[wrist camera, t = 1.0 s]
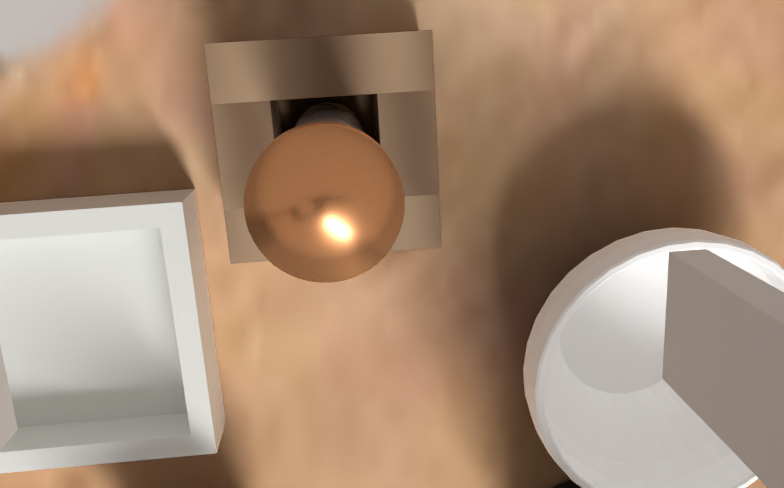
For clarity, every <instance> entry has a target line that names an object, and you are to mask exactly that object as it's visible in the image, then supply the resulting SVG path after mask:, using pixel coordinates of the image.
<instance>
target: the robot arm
mask: <svg viewBox="0 0 784 488" xmlns="http://www.w3.org/2000/svg"><path fill="white" fill-rule="evenodd" d="M662 379H663V380H664V381H665V382H666V383H667V384H668V385H669V386H670V387H671V388H672V389H673V390H674V391H675V392H676V393H677V394H678V395H679V396H680V397H681V398H682V400H683V401H684V402H685V403H686V404H687V405H688V406H689V407H690V408H691V409H692V410H693V411H694V412H695V413H696V414H697V415H698V416H699V417H700V418H701V419H702V420H703V421H704V422H705V423H706V424H707V425H708V426H709V427H710V429H711V430H712V431H713V432H714V433H715V434H716V435H717V436H718V437H719V438H720V439H721V440H722V441H723V442H724V443H725V444H726V445H727V446H728V447H729V448H730V449H731V450H732V451H733V452H734V453H735V454H736V455H737V456H738V458H739V459H740V460H741V461H742V462H743V463H744V464H745V465H746V466H747V467H748V468H749V469H750V470H751V471H752V472H753V473H754V474H755V475H756V476H757V477H758V478H759V479H760V480H761V481H762V482H763V483H764V484H765V485H766V487H767V488H784V292H782V291H781V290H779V289H777V288H775V287H773V286H772V285H770V284H768V283H766V282H764V281H763V280H761V279H759V278H757V277H755V276H754V275H752V274H750V273H748V272H747V271H745V270H743V269H741V268H739V267H738V266H736V265H734V264H732V263H730V262H729V261H727V260H725V259H723V258H721V257H720V256H718V255H716V254H714V253H713V252H711V251H709V250H707V249H701V250H686V251H672V252H669V260H668V279H667V298H666V316H665V335H664V354H663V373H662ZM17 430H18V427H17V422H16V417H15V413H14V408H13V403H12V398H11V394H10V389H9V384H8V379H7V374H6V370H5V365H4V360H3V355H2V350H1V346H0V450H1V449H2V448H3V447H4V446H5V444H6V443H7V442H8V441H9V440H10V438H11V437H12V436H13V435H14V434H15V432H16V431H17Z"/></svg>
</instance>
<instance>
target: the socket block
mask: <svg viewBox="0 0 784 488" xmlns="http://www.w3.org/2000/svg"><path fill="white" fill-rule="evenodd" d="M204 51H205V59H206V68H207V76H208V84H209V92H210V100H211V108H212V116H213V125H214V133H215V141H216V149H217V157H218V165H219V173H220V182H221V190H222V198H223V206H224V214H225V222H226V231H227V239H228V247H229V255H230V263H231V264H234V263H247V262H260V261H269V260H268V259H267V258H266V257H265V256H264V255H263V254H262V253H261V251H260V250H259V249H258V247H257V246H256V244H255V243H254V241H253V239H252V237H251V235H250V233H249V230H248V227H247V224H246V220H245V215H244V202H243V201H244V191H245V186H246V182H247V179H248V176H249V174H250V171H251V169H252V167H253V166H254V164H255V162H256V160H257V159H258V157H259V156H260V155H261V153H262V152H263V151H264V149H265V148H266V147H267V146H268V145H269V144H270V143H271V142H272V141H273V140H274V139H276V138H277V137H278V136H279V135H281V134H282V127H281V117H280V107H279V100H287V99H302V98H318V97H333V96H348V95H364V94H372V99H373V115H374V130H375V141H376V142H377V143H378V144H379V145H380V146H381V147H382V148H383V149H384V150H385V151H386V153H387V154H388V155H389V157H390V158H391V160H392V162H393V163H394V165H395V167H396V169H397V171H398V174H399V176H400V179H401V182H402V186H403V190H404V197H405V212H404V219H403V223H402V227H401V230H400V232H399V235H398V237H397V239H396V241H395V243H394V244H393V246H392V248H391V249H390V250H389V251H401V250H414V249H427V248H440V247H441V228H440V205H439V181H438V157H437V134H436V110H435V87H434V63H433V39H432V30H424V31H407V32H391V33H374V34H358V35H341V36H324V37H308V38H291V39H274V40H258V41H241V42H224V43H208V44H204Z"/></svg>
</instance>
